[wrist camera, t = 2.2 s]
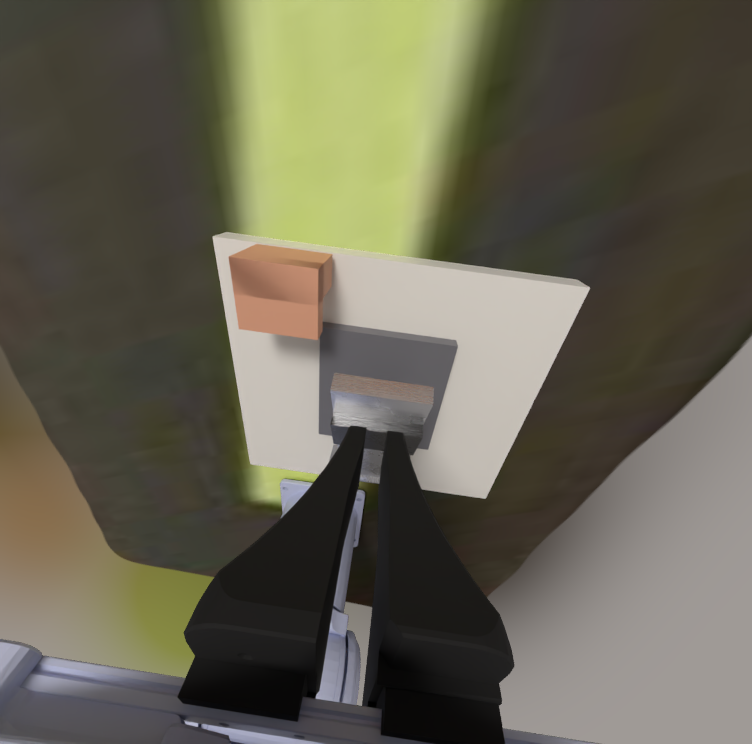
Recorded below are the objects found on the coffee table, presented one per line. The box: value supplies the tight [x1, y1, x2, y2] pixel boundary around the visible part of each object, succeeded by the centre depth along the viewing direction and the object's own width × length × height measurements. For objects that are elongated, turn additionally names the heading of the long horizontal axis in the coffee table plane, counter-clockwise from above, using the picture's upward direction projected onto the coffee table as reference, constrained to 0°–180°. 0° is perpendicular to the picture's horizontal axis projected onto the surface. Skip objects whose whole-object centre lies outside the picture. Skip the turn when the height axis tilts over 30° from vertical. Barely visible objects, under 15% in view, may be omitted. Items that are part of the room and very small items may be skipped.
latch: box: [228, 244, 333, 340], centre depth 16 cm, size 4×4×3 cm
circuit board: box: [213, 232, 590, 499], centre depth 21 cm, size 18×20×4 cm
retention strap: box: [330, 373, 434, 484], centre depth 18 cm, size 14×4×2 cm, turn 175°
